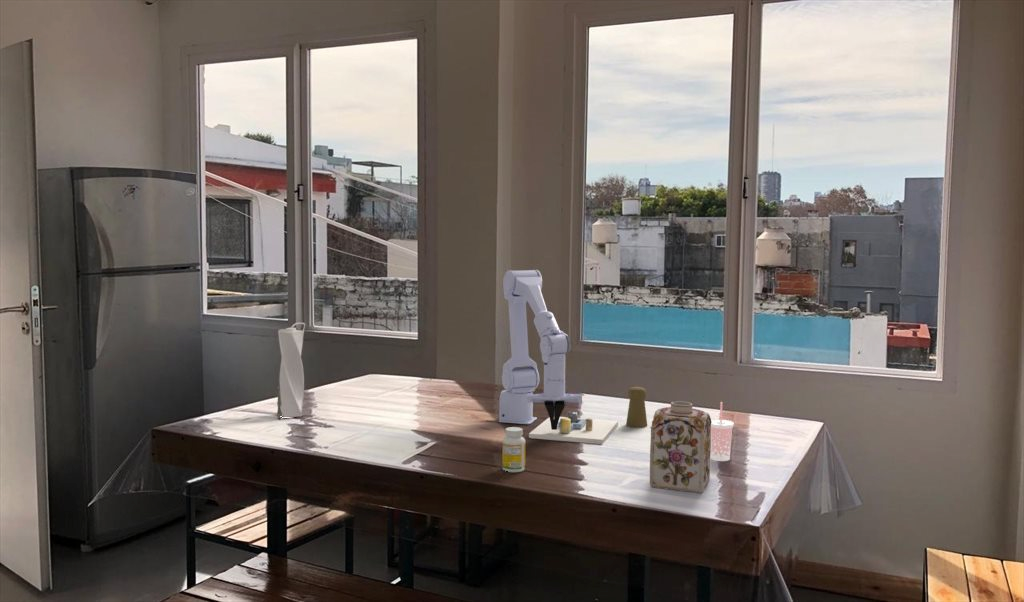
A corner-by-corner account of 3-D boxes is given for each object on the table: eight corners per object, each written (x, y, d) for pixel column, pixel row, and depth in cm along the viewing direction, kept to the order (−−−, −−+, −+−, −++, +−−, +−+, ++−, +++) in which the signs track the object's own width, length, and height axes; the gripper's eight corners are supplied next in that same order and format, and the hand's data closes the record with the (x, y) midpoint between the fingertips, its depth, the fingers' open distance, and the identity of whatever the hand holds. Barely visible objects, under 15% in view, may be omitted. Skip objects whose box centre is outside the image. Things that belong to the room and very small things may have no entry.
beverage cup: (737, 460, 200) (739, 403, 199) (715, 462, 198) (716, 405, 197) (724, 454, 206) (725, 398, 205) (702, 456, 204) (703, 400, 203)
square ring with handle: (564, 421, 234) (564, 409, 233) (586, 423, 232) (586, 411, 231) (552, 431, 222) (552, 419, 221) (575, 433, 220) (575, 421, 219)
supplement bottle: (515, 474, 188) (515, 432, 187) (497, 469, 192) (497, 429, 191) (530, 469, 192) (530, 428, 192) (512, 464, 196) (512, 425, 195)
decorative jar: (648, 487, 179) (649, 405, 177) (658, 473, 190) (660, 395, 188) (704, 494, 175) (706, 410, 173) (711, 478, 186) (713, 399, 184)
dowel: (585, 434, 225) (585, 419, 224) (586, 433, 226) (586, 418, 226) (591, 435, 224) (591, 420, 224) (592, 433, 226) (593, 418, 225)
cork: (646, 428, 233) (647, 389, 232) (625, 427, 234) (626, 388, 233) (647, 423, 239) (648, 385, 238) (626, 422, 240) (627, 384, 239)
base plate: (528, 438, 221) (528, 433, 221) (550, 420, 242) (550, 416, 242) (602, 444, 215) (602, 439, 215) (618, 425, 236) (618, 421, 236)
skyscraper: (305, 412, 251) (304, 320, 248) (308, 418, 243) (306, 323, 241) (277, 414, 248) (275, 321, 246) (278, 420, 240) (276, 324, 238)
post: (566, 431, 229) (566, 413, 228) (568, 428, 231) (568, 411, 231) (576, 431, 228) (576, 414, 228) (578, 429, 231) (578, 411, 230)
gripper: (528, 381, 216) (527, 432, 217) (583, 381, 217) (582, 432, 218) (526, 376, 223) (526, 426, 225) (580, 376, 224) (579, 425, 225)
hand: (554, 428), depth 222 cm, fingers closed
